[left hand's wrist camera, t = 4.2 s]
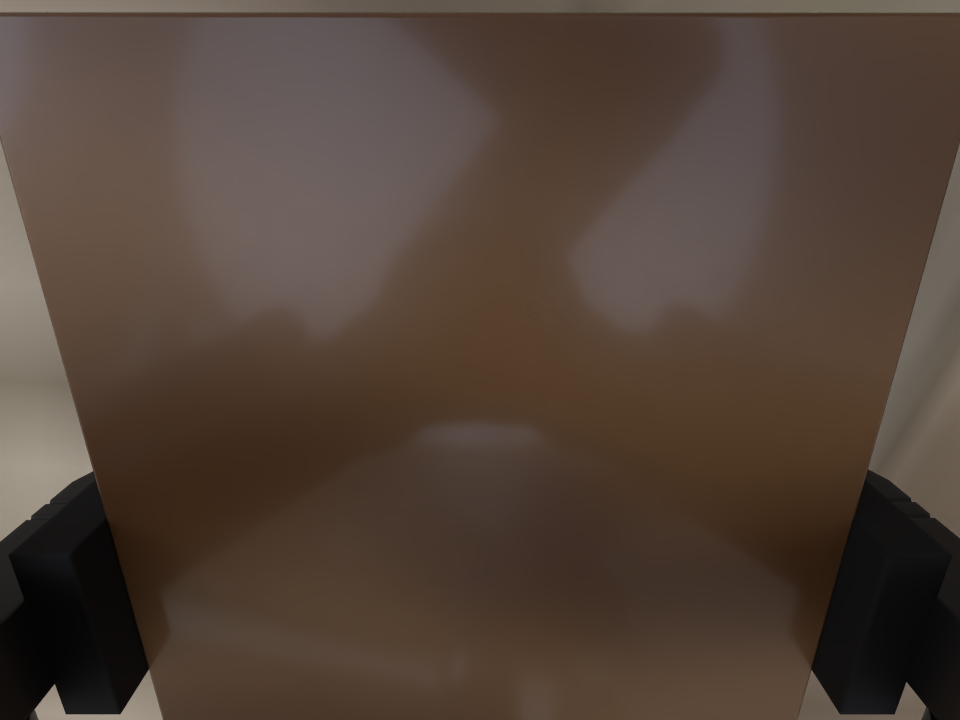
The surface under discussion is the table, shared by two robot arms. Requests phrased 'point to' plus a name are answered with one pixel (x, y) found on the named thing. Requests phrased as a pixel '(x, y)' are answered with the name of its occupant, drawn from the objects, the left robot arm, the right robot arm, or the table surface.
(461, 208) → the narrow beam
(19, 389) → the table surface
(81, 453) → the table surface
